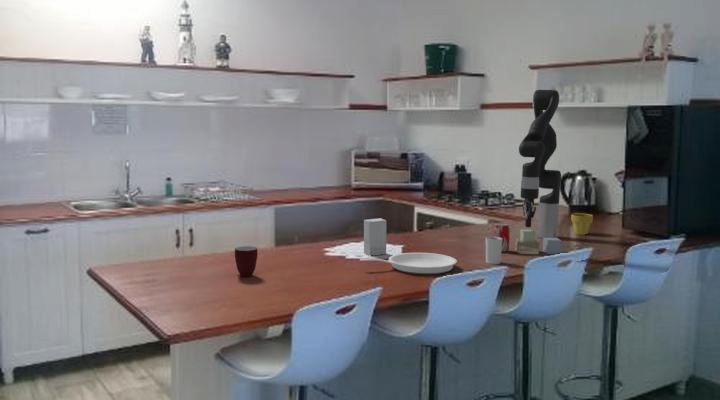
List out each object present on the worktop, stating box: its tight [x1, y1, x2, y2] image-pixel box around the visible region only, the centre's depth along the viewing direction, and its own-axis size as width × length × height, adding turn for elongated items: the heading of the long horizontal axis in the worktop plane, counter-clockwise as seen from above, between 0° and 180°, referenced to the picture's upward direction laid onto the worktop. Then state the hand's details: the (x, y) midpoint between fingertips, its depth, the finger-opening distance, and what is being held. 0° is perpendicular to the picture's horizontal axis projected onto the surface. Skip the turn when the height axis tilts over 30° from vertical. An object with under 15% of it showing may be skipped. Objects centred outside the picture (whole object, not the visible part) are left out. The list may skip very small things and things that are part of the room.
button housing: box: [514, 238, 540, 255], centre depth 287 cm, size 8×8×5 cm
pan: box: [359, 252, 458, 275], centre depth 253 cm, size 26×39×5 cm
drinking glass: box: [485, 236, 502, 265], centre depth 265 cm, size 7×7×10 cm
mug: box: [234, 245, 258, 278], centre depth 239 cm, size 10×8×10 cm
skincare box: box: [363, 217, 387, 256], centre depth 278 cm, size 8×6×15 cm
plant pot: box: [570, 212, 594, 236], centre depth 336 cm, size 10×10×10 cm
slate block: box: [542, 237, 562, 255], centre depth 288 cm, size 6×6×6 cm
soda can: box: [492, 222, 511, 253], centre depth 289 cm, size 7×7×12 cm
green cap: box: [519, 228, 536, 242], centre depth 287 cm, size 5×5×5 cm
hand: (527, 226), depth 286 cm, fingers closed
